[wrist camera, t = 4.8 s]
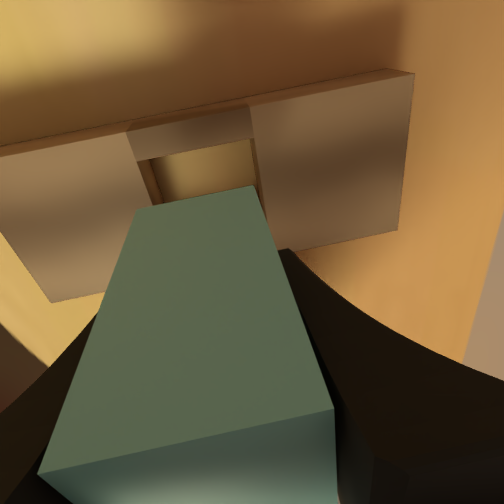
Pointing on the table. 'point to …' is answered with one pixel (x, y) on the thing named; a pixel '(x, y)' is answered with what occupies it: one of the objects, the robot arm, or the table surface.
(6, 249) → the table surface
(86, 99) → the table surface
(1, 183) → the walnut rail
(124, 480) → the teal peg
